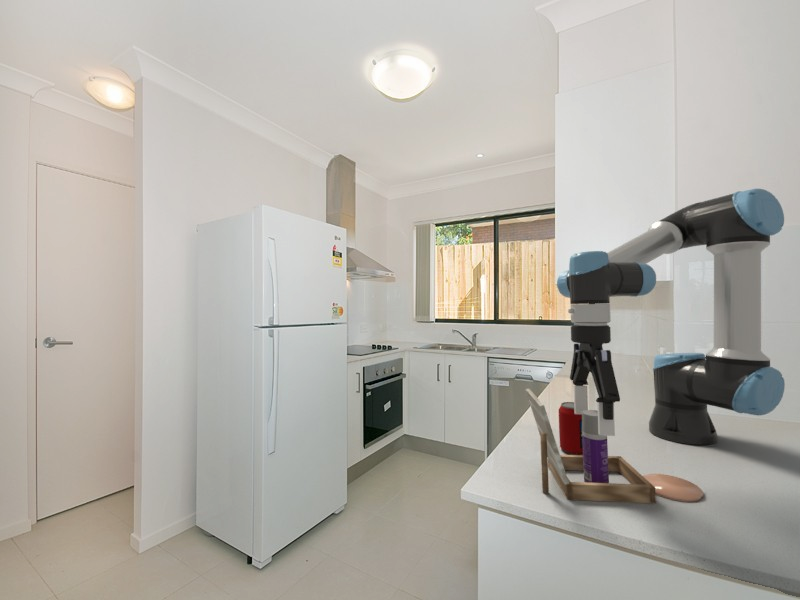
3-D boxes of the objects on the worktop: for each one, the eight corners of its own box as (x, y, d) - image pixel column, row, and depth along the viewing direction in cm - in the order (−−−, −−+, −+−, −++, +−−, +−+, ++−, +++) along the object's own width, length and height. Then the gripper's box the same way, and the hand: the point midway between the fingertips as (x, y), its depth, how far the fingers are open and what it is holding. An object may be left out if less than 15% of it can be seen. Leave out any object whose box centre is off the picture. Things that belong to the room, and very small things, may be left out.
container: (608, 491, 73) (605, 417, 73) (583, 485, 76) (580, 414, 76) (609, 481, 77) (606, 411, 77) (585, 476, 80) (582, 408, 80)
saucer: (682, 477, 78) (682, 474, 78) (716, 502, 68) (715, 499, 68) (632, 475, 79) (632, 473, 79) (658, 500, 69) (658, 497, 69)
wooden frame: (621, 469, 82) (617, 388, 82) (655, 503, 68) (651, 405, 69) (528, 466, 85) (525, 388, 85) (543, 498, 71) (540, 405, 71)
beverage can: (592, 457, 89) (590, 408, 89) (563, 455, 90) (561, 408, 91) (584, 446, 96) (582, 401, 96) (557, 445, 97) (555, 400, 97)
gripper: (554, 321, 90) (557, 406, 89) (594, 327, 65) (597, 445, 65) (586, 321, 89) (589, 407, 88) (639, 327, 64) (642, 447, 64)
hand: (592, 423), depth 76 cm, fingers open, 13 cm apart
